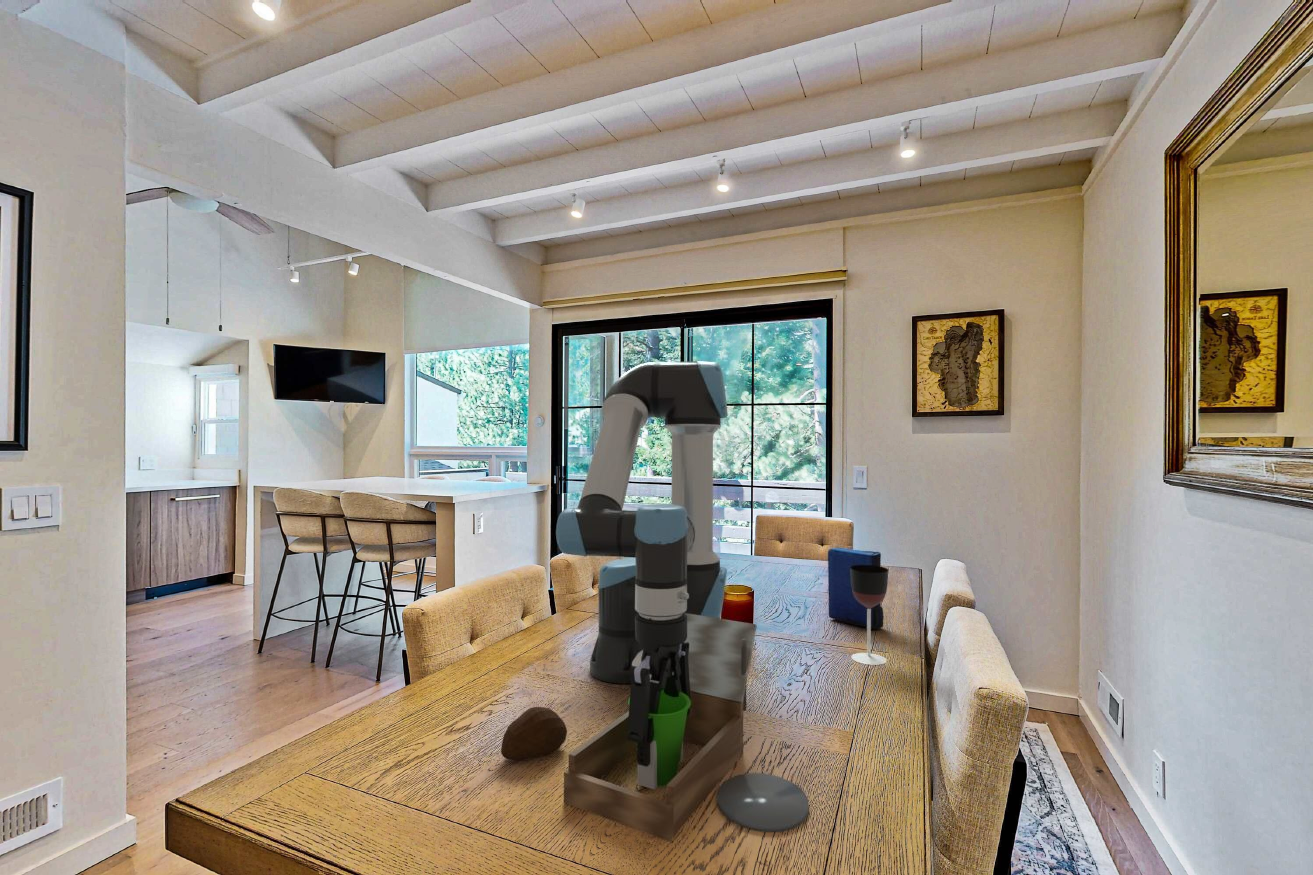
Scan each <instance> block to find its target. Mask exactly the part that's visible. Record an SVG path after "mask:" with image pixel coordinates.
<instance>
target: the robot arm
mask: <svg viewBox="0 0 1313 875" xmlns="http://www.w3.org/2000/svg"><path fill="white" fill-rule="evenodd" d="M723 375H724V374H723V371H722V367H721V365H720V364H718V363H717V362H714V361H700V360H697V361H667V362H666V361H665V362H655V361H654V362H653V361H651V362H644V363H641V364H639V365H636V366H634V367H632V368H631V369H629V370H627V371H626V372H625V373H623V374H622V375H621V376H620V377H618V379H617V380H615V382H614V383H613V385H611V387H610V388H609V389H608V391H607V393H606V394H605V397H604V399H603V403H602V406H601V415H602V418H603V420H602V424H601V427H600V430H599V434H598V438H597V441H596V444H595V447H594V450H593V455H592V457H591V461H590V463H589V468H588V471H587V474H586V477H585V481H584V483H583V487H582V491H581V495H580V499H579V502H578V505H577V508H575V507H572V508H565V509H563V510H562V512H560V514H559V515H558V518H557V522H556V529H555V536H556V543H557V546H558V549H559V550H560V552H562V553H563V554H566V555H571V556H578V557H579V556H580V557H584V558H585V557H592V556H593V557H617V558H618V557H619V558H618V559H614V560H611V561H609V562H606V563H604V564H603V565H602V566H601V568H600V570H599V574H598V575H599V576H598V585H597V589H598V635H597V637H596V640H595V643H594V648H593V650H592V653H591V657H590V661H589V672H590V674H591V676H592V677H594V678H595V679H597V680H598V681H599V680H600V681H602V682H604V683H605V682H606V683H610V684H621V685H623V684H624V685H625V684H626V685H627V684H630V690H629V691H630V692H629V698H630V703H629V706H628V707H629V708H628V711H629V718H628V732H627V739H628V740H630V741H634V742H637V749H636V752H637V753H636V757H637V758H636V759H637V760H636V764H637V767H636V769H637V771H636V772H637V776H636V777H637V781H636V782H637V785H639V786H642V787H645V788H648V789H650V790H656V789H657V788H658V787H657V747H656V741H655V740H653V738H654V724H653V718H651V719H648V716H649V713H650V714H658V708H659V702H660V696H661V691H662V690H664V693H665V694H666V695H668V696H671V697H679V693H680V692H682V693H684V694H686V695H687V696H688V697H689V699H690V701H691V695H690V679H689V662H688V655H689V642H685V641H686V639H687V615H686V614H685V613H687V614H694V615H700V616H706V617H713V618H719V619H721V616H722V611H723V603H724V596H725V590H726V582H727V575H728V574H727V573H728V569H727V567H724V566H721V558H720V556H718V554H717V553H715V551H714V548H713V547H714V546H713V545H714V543H713V541H714V540H713V539H714V535H713V534H714V533H713V532H714V529H713V528H714V526H713V525H714V522H713V521H714V520H713V518H714V516H713V515H714V512H713V511H714V509H713V508H714V497H713V496H714V435H715V433H716V432H717V431H718V430H719V429H720V428H721V419H725V418H727V417H728V416H729V415H728V405H727V396H726V388H725V381H724V376H723ZM650 418H652V419H653V418H656V419H664V427H665V429H667V431H668V432H669V433H670V434H671V504H670V503H669V504H668V503H656V504H655V503H654V504H652V503H651V504H645V505H644V504H643V505H641V506H639V507H638V508H637V509H636V510H627V509H625V510H623V509H624V506H625V505H624V504H625V501H626V500H625V499H626V495H627V490H628V486H629V483H630V482H629V481H630V478H631V473H632V469H633V465H634V460H635V456H636V451H637V445H638V442H639V438H640V432H641V429H642V428H644V427H645V425H646V424H647V422H648V420H649V419H650ZM620 557H622V558H620ZM642 650H643V653H642V657H641V663H640V664H639V666H632V662H633V660H634V659H635V657H636V656H637V654H638V653H639V652H641V651H642ZM650 680H654V681H659V683H655V682H650ZM689 714H690V709H688V711H687V716H689ZM683 761H684V741H683V742H682V749H681V755H680V761H679V764H681V763H682V762H683Z"/></svg>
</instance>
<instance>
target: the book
mask: <svg viewBox="0 0 1313 875" xmlns="http://www.w3.org/2000/svg"><path fill="white" fill-rule="evenodd" d="M881 554H882V553H881V552H880V551H872V550H871V551H870V550H861V549H860V550H859V549H858V550H857V549H854V548H853V549H852V548H845V547H839V546H837V547H833V548H829V549H828V551H827V571H828V572H827V573H828V574H827V575H828V576H827V577H828V578H827V579H828V583H827V584H828V585H827V586H828V587H827V588H828V591H827V592H828V617H829V618H830V619H832V620H834V621H835V620H836V621H838V622H839V621H840V622H842V623H848V624H850V625H854V626H859V627H863V628H867V607H865V606H864V605H862V604H861V603H859V602H858V601H857V600H856V598H855V597H854V594H853V592H852V587H851V574H850V567H851V566H854V565H874V566H880V567H882V566H881V565H882V564H881V563H882V562H881V559H882V555H881ZM883 627H884V609H883V607H882V602H881V603H880V604H878V605H876V606H874V607H872V608H871V630H878V629H882V628H883Z"/></svg>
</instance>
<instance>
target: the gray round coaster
mask: <svg viewBox="0 0 1313 875" xmlns="http://www.w3.org/2000/svg"><path fill="white" fill-rule="evenodd" d="M716 791H717V792H716V804H717V805H716V806H717V807H718V809H719V811H720V813H721V814H722V815H723V816H724V817H725V818H727V819H728V820H729V821H730V822H732V823H734V824H735V825H737V826H740V827H742V828H745V829H747V830H751V831H757V832H763V833H779V832H784V831H785V832H786V831H789V830H792V829H794V828H797V827H799V826H800V825H802V824H803V823H804V822H805V821H806V819H807V818H808V816H809V812H810V811H809V799H808V796H807V795H806V793H805V791H803V789H802V788H801V787H799V786H798V785H797V784H795V783H794V782H792V781H790V780H788V779H787V778H784V777H781V776H778V775H774V774H770V773H769V774H768V773H762V772H749V773H748V772H747V773H741V774H737V775H734V776H730V777H729V778H727V779H725V780H724V781H722V782H721V784H720V785H719V787H718V788H717V790H716Z"/></svg>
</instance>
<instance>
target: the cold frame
mask: <svg viewBox="0 0 1313 875" xmlns="http://www.w3.org/2000/svg"><path fill="white" fill-rule="evenodd" d="M685 614H686V615H687V639H686V641H685V642H689V655H688V662H689V679H690V695H691V705H690V707H689V708H688V709H690V714H689V716H687V717H686V723H685V730H684V736H683V742H687V743H691V744H694V745H698V746H700V747H701V746H702V748H701V749H700V751H698V753H696V754H695V755H694V756H693V758H692V759H691V760H689V761H688V763H687V764H685V766H684V767H683V768H682V769H681V770H680V771H678V774H677V775H676V776H675V777H674V778H673V779H672V780H671V781H670V782H669V783H668V784H667V785H666V786H665V787H666V800H663V799H660V798H657V797H653V796H651V795H648V794H644V793H642V792H638V791H635V790H633V789H630V788H627V787H624V786H621V785H617V784H614V783H611V782H609V781H605V780H604V779H602V778H604V777H605V776H606V775H607V774H608V773H610V772H611V771H612V770H613V769H614V768H616V766H619V764H621V763H622V762H623V761H624V760H625V759H626V758H628V757H629V756H630V755H632V753H633V752H635V751H637V747H636V742H634V741H630V740H628V739H627V732H628V718H629V710H628V711H627V712H625V713H623V714H622V715H621V716H620V717H618V718H617V719H616V720H614V721H613V722H611V723H610V724H608V725H607V726H605V727H604V728H603V729H602V730H600V731H599V732H597V733H596V734H594V735H593V736H592V737H590V738H589V739H588V740H586V741H585V742H584V743H582V744H580V745H579V746H578V747H576V748H575V749H573V750H572V751H570V752H569V753H568V768H567V769H566V770H565V771H564V772H563V803H564V804H566V805H568V806H572V807H575V808H577V809H580V810H582V811H585V812H588V813H591V814H594V815H596V816H599V817H601V818H605V819H608V820H610V821H613V822H616V823H618V824H621V825H623V826H626V827H627V828H628V827H629V828H631V829H634V830H637V831H639V832H643V833H645V834H647V835H651V836H654V837H656V838H659V839H660V840H661V839H662V840H664V841H666V842H671V841H672V840H673V838H674V837H675V836H676V835H677V834H678V832H679V831H680V830H681V829H682V828H683V826H684V825H685V824H686V823H687V822H688V820H690V818H691V817H692V815H693V814H694V813H695V812H696V811H697V810H698V809H699V807H700V806H701V805H702V804H703V802H704V801H705V800H706V799H707V798H708V796H709V795H710V794H711V793H712V791H713V790H714V789H715V788H716V787H717V786H718V784H719V783H720V782H721V781H722V779H723V778H724V777H725V776H726V775H727V774H728V772H729V771H730V770H731V769H732V768H733V766H734V765H735V764H736V763H737V762H738V761H739V759H740V758H741V757H742V755H743V754H744V712H747V683H748V677H749V673H750V672H749V671H750V665H751V660H752V655H753V648H754V644H755V637H756V633H757V632H756V631H757V625H756V623H749V622H743V621H737V620H731V619H724V618H720V619H719V618H713V617H706V616H700V615H694V614H687V613H685ZM651 682H655V683H659V681H654V680H651Z"/></svg>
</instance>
